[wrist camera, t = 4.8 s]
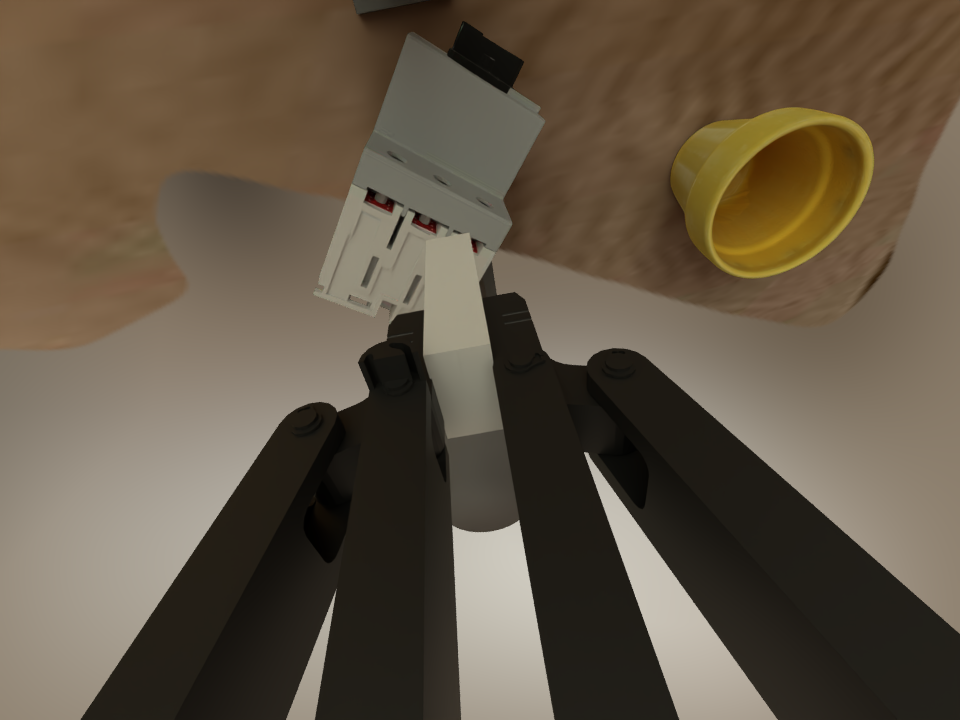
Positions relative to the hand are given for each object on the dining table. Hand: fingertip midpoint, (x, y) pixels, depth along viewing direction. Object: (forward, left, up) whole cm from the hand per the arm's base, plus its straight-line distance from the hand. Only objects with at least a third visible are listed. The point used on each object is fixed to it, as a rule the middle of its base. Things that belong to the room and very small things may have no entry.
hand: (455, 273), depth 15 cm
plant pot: (-12, +18, -22) cm, 31 cm away
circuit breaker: (0, -1, -22) cm, 22 cm away
